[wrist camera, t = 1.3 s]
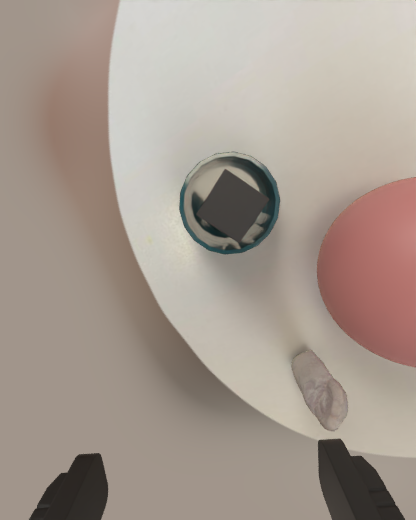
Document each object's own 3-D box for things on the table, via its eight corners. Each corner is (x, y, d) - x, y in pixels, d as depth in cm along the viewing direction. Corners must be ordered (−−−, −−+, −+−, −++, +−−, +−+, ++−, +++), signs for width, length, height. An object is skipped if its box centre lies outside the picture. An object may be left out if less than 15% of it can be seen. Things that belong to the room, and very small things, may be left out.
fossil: (318, 381, 34) (359, 453, 25) (290, 384, 35) (319, 457, 25) (315, 338, 33) (357, 397, 23) (286, 342, 33) (315, 401, 24)
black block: (201, 209, 30) (195, 214, 21) (222, 177, 29) (225, 168, 20) (232, 229, 30) (239, 243, 21) (253, 198, 29) (269, 199, 21)
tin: (167, 205, 30) (158, 206, 26) (227, 139, 29) (230, 128, 24) (226, 262, 31) (228, 273, 27) (288, 202, 30) (300, 203, 25)
